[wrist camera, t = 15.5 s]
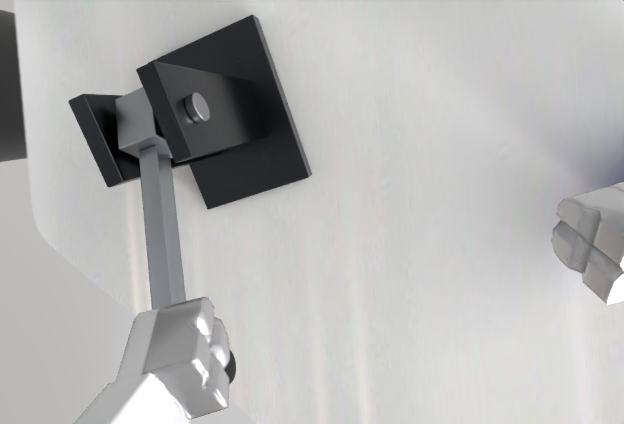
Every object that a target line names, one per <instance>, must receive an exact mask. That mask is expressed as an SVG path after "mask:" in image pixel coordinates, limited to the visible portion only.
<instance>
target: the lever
mask: <svg viewBox="0 0 624 424" xmlns="http://www.w3.org/2000/svg"><path fill="white" fill-rule="evenodd" d="M115 106H116V120H117V134H118V148H119V150H121V151H124V152H126V153H128V154H130V155H133V156H135V157H137V158H139V163H140V175H141V187H142V198H143V210H144V222H145V234H146V245H147V257H148V269H149V281H150V292H151V304H152V310H155V309H159V308H161V307H165V306H169V305H173V304H177V303H181V302H185V301H186V295H185V286H184V277H183V268H182V259H181V250H180V241H179V232H178V223H177V214H176V204H175V195H174V186H173V177H172V168H171V159H170V158H173V157H172V154H171V152H170V150H169V147H168V145H167V142H166V140H165V138H164V135H163V133H162V131H161V128H160V126H159V123H158V121H157V119H156V116H155V114H154V111H153V109H152V107H151V104H150V102H149V99H148V97H147V95H146V92H145V90H144V87H143V88H140V89H138V90H136V91H134V92H131V93H129V94H127V95H125V96H122V97H120V98H118V99H116V100H115ZM224 371H225V372H226V374H227V376H228V377H229V384H230V383H231V382H232V381H233V380H234V377H235V373H236V363H235V358H234V355H233V353H232V352H231V350H230V361H229V363H228V364H227V366H226V367H225V369H224Z"/></svg>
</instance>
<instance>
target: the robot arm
mask: <svg viewBox="0 0 624 424" xmlns="http://www.w3.org/2000/svg"><path fill="white" fill-rule="evenodd" d="M557 216H558V217H559V218H560V219H561V221H560V222H559V223H558V225H557V226H556V227H555V228H554V229H553V234H552V244H553V248H554V251H555V253H556V255H557V256H558V258H559V259H560V261H561V262H562V263H563V264H564V265H565V266H567V267H568V268H569V269H572V270H575V271H578V272H580V273H582V278H583V283H585V284H586V285H587V286H588V287H589V288H590V289H591V290H592V291H593V292H594V293H595V294H596V295H597V296H598V297H600V298H601V299H602V300H603V301H604V302H605V303H606V304H609V303H613V302H618V301H622V300H624V182H622V183H618V184H615V185H611V186H608V187H606V188H601V189H598V190H594V191H591V192H587V193H583V194H580V195H576V196H573V197H569V198H566V199H563V200H562V201H561V203H560V204H559V205H558V209H557ZM229 361H230V346H229V339H228V335H227V332H226V329H225V326H224V324H223V322H222V321H221V320H220V319H218V318H216V317H214V306H213V305H212V303H211V301H210V300H209V298H208V297H201V298H197V299H193V300H189V301H185V302H181V303H177V304H173V305H169V306H165V307H161V308H159V309H155V310H151V311H147V312H142V313H139V314H138V315H137V316H136V317H135V319H134V321H133V325H132V328H131V331H130V335H129V338H128V341H127V345H126V348H125V351H124V355H123V358H122V361H121V365H120V368H119V372H118V375H117V378H116V381H115V382H113V383H109V384H108V385H107V386H106V387H105V388H104V389H103V390H102V392H101V393H100V394H99V395H98V396H97V397H96V399H95V400H94V401H93V402H92V403H91V404H90V405H89V407H88V408H87V409H86V410H85V411H84V412H83V414H82V415H81V416H80V417H79V418H78V419H77V420H76V422H75V423H74V424H190V421H189V420H190V419H194V418H197V417H200V416H204V415H206V414H210V413H213V412H217V411H220V410H223V409H226V408H228V406H229V377H228V376H227V374H226V372H225V371H224V369H225V367H226V366H227V364H228V363H229Z"/></svg>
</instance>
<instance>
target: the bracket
mask: <svg viewBox="0 0 624 424" xmlns="http://www.w3.org/2000/svg"><path fill="white" fill-rule="evenodd" d="M136 71H137V73H138V75H139V78H140V80H141V83H142V85H143V87H144V90H145V92H146V95H147V97H148V99H149V102H150V104H151V107H152V109H153V111H154V114H155V116H156V119H157V121H158V123H159V126H160V128H161V131H162V133H163V135H164V138H165V140H166V142H167V145H168V147H169V150H170V152H171V154H172V157H173V158H170V159H171V168H172V169H175V168H178V167H182V166H185V165H190V167H191V170H192V172H193V175H194V177H195V179H196V182H197V184H198V187H199V189H200V192H201V194H202V196H203V199H204V201H205V204H206V206H207V209H211V208H215V207H218V206H221V205H224V204H227V203H230V202H233V201H236V200H240V199H243V198H246V197H249V196H252V195H255V194H258V193H261V192H264V191H268V190H271V189H274V188H277V187H280V186H283V185H286V184H289V183H292V182H296V181H299V180H302V179H305V178H308V177H310V176H311V175H312V173H311V170H310V167H309V164H308V161H307V158H306V155H305V153H304V150H303V147H302V144H301V141H300V138H299V135H298V132H297V129H296V127H295V124H294V121H293V118H292V115H291V112H290V109H289V106H288V103H287V101H286V98H285V95H284V92H283V89H282V86H281V83H280V80H279V77H278V75H277V72H276V69H275V66H274V63H273V60H272V57H271V54H270V51H269V49H268V46H267V43H266V40H265V37H264V34H263V31H262V28H261V25H260V22H259V20H258V18H257V17H255V16H254V15H251V16H249V17H246V18H244V19H242V20H240V21H238V22H236V23H233V24H231V25H229V26H227V27H225V28H223V29H220V30H218V31H216V32H214V33H212V34H210V35H207V36H205V37H203V38H201V39H199V40H197V41H194V42H192V43H190V44H188V45H186V46H184V47H181V48H179V49H177V50H175V51H173V52H171V53H168V54H166V55H164V56H162V57H160V58H158V59H155V60H153V61H151V62H149V63H148V64H147V65H144V66H142V67H140V68H138V69H136ZM120 97H122V96H120V95H96V94H82V95H80V96H78V97H76V98H73V99H71V100H69V104H70V106H71V109H72V111H73V113H74V115H75V117H76V119H77V122H78V124H79V126H80V128H81V130H82V132H83V135H84V137H85V139H86V141H87V143H88V145H89V148H90V150H91V152H92V154H93V156H94V159H95V161H96V163H97V165H98V167H99V169H100V172H101V174H102V176H103V178H104V180H105V182H106V185H107V187H113V186H117V185H120V184H123V183H127V182H130V181H134V180H137V179H141V175H140V163H139V158H137V157H135V156H133V155H130V154H128V153H126V152H124V151H121V150H119V148H118V134H117V120H116V106H115V100H116V99H118V98H120Z"/></svg>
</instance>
